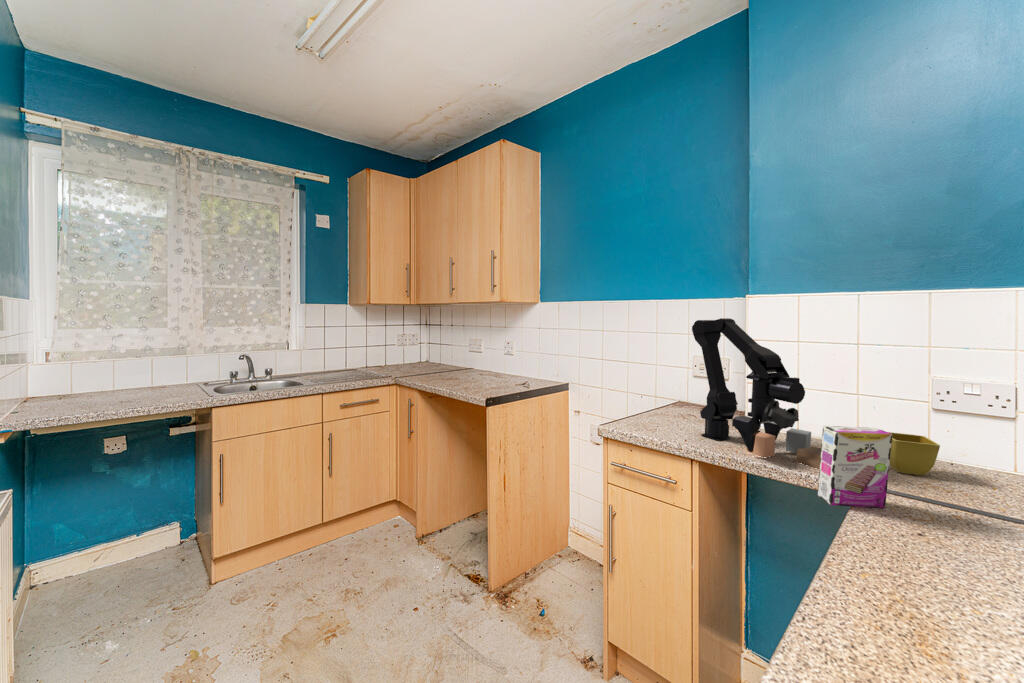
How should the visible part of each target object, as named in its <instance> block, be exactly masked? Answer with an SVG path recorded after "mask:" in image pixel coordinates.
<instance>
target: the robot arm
mask: <svg viewBox="0 0 1024 683" xmlns="http://www.w3.org/2000/svg"><path fill="white" fill-rule="evenodd" d="M691 331H692V334H693V337H694V340H695V342H696V343H697V344H698V345H699V346H700V348H701V351H702V356H703V357H702V358H703V361H704V367H705V372H706V377H707V381H708V388H709V391H708V393H707V396H706V405H705V406H704V407H703V408H702V409H701V410H700V411H699V413H700V418H701V419H703V420H704V433H701V435H700V436H702V437H705V438H708V439H711V440H715V441H724V440H728V439H731V436H730V425H729V420H731V423H732V424H731V426H732V427H734V428H735V429H736V430H737V431H738V433H739V435H740V437H741V438H742V441H743V443H744V444H745V447H746V450H747V449H748V451H749V452H753V449H754V443H755V437H756V435H757V434H758V433H759V432H761V430H760V429H761V426H762V424H763V428H764V433H767V434H771V435H774V436H775V442H776V441H777V439H778V437H779V434H780V432H781V430H783V429H784V430H785V429H788V428H793V427H794V425H795V423H796V422H799V420H800V419H799V410H798V409H797V408H795V407H790V408H787V409H786V408H782V407H780V402H779V401H782V402H786V403H791V404H795V405H797V404H799V403H801V402H802V401H803V400H804V398H805V395H806V390H805V387H804V385H803V384H802V383H800V381H801V380H800V378H799V377H790V375H789V373H788V371H787V370H786V368H785V366H784V364H783V362H782V358H781V356H780V355H779V354H778V353H776V352H774V351H773V350H772V349H769V348H767V347H764V346H763V345H760V344H758V343H757V342H756V341H755V339H753V338H752V337H751V336H750V335H749V333H747V332H745V330H743V328H741V327H740V326H739V325H738V324H737V323H736V321H735V319H732V318H728V317H727V318H725V317H724V318H717V319H698V320H696V321H695V322H694V323H693V325H692V326H691ZM721 333H722V334H723V336H724V337H726V338H727V339H728V341H730V342H731V344H733V346H735V347H736V349H738V350H739V351H740V353H742V355H743V356H744V362H745V364H746V365H747V366H748V368H749V369H750V370H751V372H750V373H749V374H748V375H746V376H745V377H746V379H749V380H752V384H751V385H752V386H751V387H752V388H751V398H747V399H748V400H747V401H748V403H751V408H750V409H751V410H750V412H747V415H746V416H745V415H738V416H735V417H734V415H735V413H736V411H737V410H738V404H739V403H738V401H737V397H736V396H737V395H736V392H735V391H730V390H729V388H728V387H727V384H726V380H725V375H724V374H725V372H724V369H723V365H722V360H721V355H720V350H719V346H718V345H719V341H720V339H721V337H722V334H721Z"/></svg>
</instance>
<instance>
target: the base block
mask: <svg viewBox="0 0 1024 683" xmlns="http://www.w3.org/2000/svg"><path fill="white" fill-rule="evenodd" d="M795 455H796V457H795V458H796V459H795V463H796V462H798V463H797V464H799V463H802V464H804V465H803V466H805V465H808V466H810V467H809V468H811V467H813V468H812V469H814V468H817V469H820V461H821V447H818V446H816V445H815V446H814V445H812V446H810V447H806V448H800V449H797V453H796V454H795ZM802 464H801V465H802ZM808 466H807V467H808ZM817 469H816V470H817Z"/></svg>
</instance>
